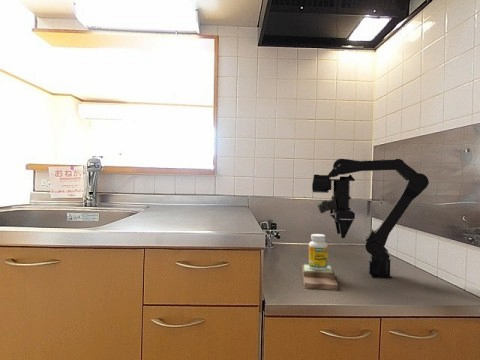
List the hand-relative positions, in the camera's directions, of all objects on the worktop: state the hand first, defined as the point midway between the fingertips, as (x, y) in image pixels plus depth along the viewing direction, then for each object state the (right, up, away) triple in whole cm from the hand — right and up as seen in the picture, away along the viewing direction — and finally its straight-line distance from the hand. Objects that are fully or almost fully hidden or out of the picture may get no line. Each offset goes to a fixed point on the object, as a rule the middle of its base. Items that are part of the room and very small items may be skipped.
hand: (340, 235), depth 122 cm
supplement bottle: (-10, -10, -8) cm, 16 cm away
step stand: (-11, -13, -12) cm, 20 cm away
